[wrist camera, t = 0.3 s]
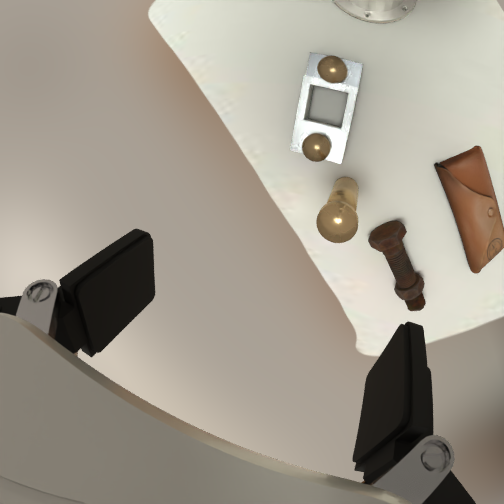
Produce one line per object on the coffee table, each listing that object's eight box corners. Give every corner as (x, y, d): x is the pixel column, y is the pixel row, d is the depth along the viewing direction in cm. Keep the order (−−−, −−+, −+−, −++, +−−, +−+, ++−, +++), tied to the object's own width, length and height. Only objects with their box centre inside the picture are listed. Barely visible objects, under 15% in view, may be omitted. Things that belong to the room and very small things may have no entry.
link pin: (335, 170, 40) (322, 198, 29) (364, 179, 39) (363, 211, 28) (327, 198, 42) (312, 235, 32) (356, 207, 41) (350, 248, 31)
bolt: (411, 294, 46) (379, 221, 42) (435, 294, 42) (406, 217, 38) (397, 318, 44) (362, 244, 40) (423, 320, 39) (391, 241, 36)
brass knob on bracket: (312, 54, 33) (305, 48, 29) (363, 65, 31) (362, 60, 28) (294, 149, 41) (286, 154, 37) (342, 161, 39) (339, 168, 35)
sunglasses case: (510, 247, 33) (506, 275, 31) (476, 251, 40) (467, 277, 37) (479, 141, 29) (473, 157, 27) (440, 152, 36) (429, 170, 33)
